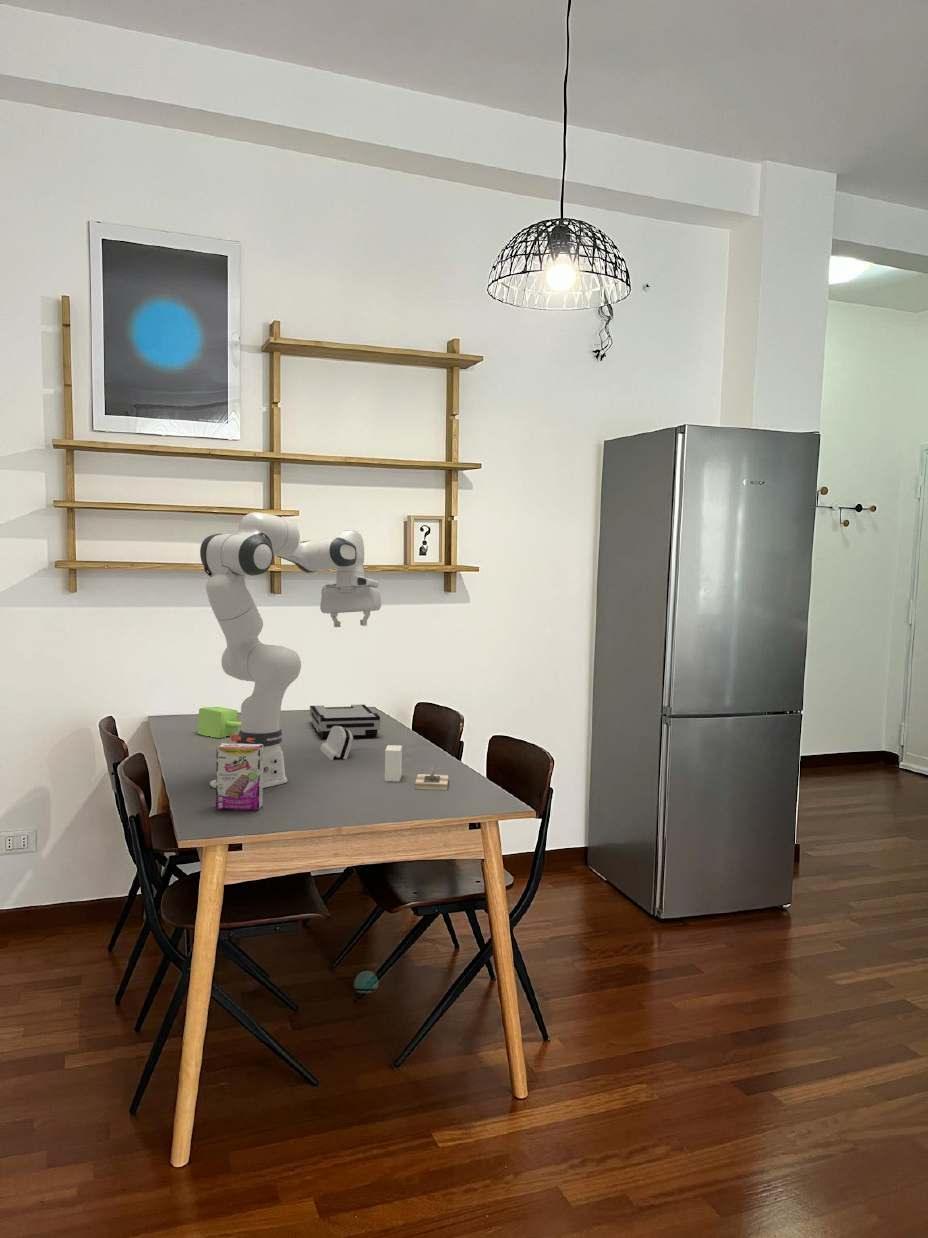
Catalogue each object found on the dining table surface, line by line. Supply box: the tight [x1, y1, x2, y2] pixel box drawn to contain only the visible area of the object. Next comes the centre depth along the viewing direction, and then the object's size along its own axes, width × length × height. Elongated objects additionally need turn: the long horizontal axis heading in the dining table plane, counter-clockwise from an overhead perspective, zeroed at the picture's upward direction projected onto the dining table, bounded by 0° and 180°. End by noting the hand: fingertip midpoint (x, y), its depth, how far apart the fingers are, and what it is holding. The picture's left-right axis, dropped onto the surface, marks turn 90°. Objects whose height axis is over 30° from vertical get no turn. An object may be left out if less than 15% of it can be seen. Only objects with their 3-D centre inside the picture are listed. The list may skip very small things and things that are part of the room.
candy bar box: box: [215, 742, 264, 811], centre depth 238 cm, size 11×5×16 cm, turn 92°
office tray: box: [309, 704, 381, 740], centre depth 339 cm, size 21×32×8 cm, turn 16°
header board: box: [414, 766, 449, 791], centre depth 266 cm, size 11×9×5 cm
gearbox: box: [197, 706, 241, 739], centre depth 327 cm, size 18×10×10 cm, turn 59°
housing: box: [384, 744, 403, 782], centre depth 272 cm, size 7×4×9 cm, turn 179°
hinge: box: [319, 726, 354, 761], centre depth 302 cm, size 17×5×10 cm, turn 22°
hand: (350, 626), depth 292 cm, fingers open, 8 cm apart
